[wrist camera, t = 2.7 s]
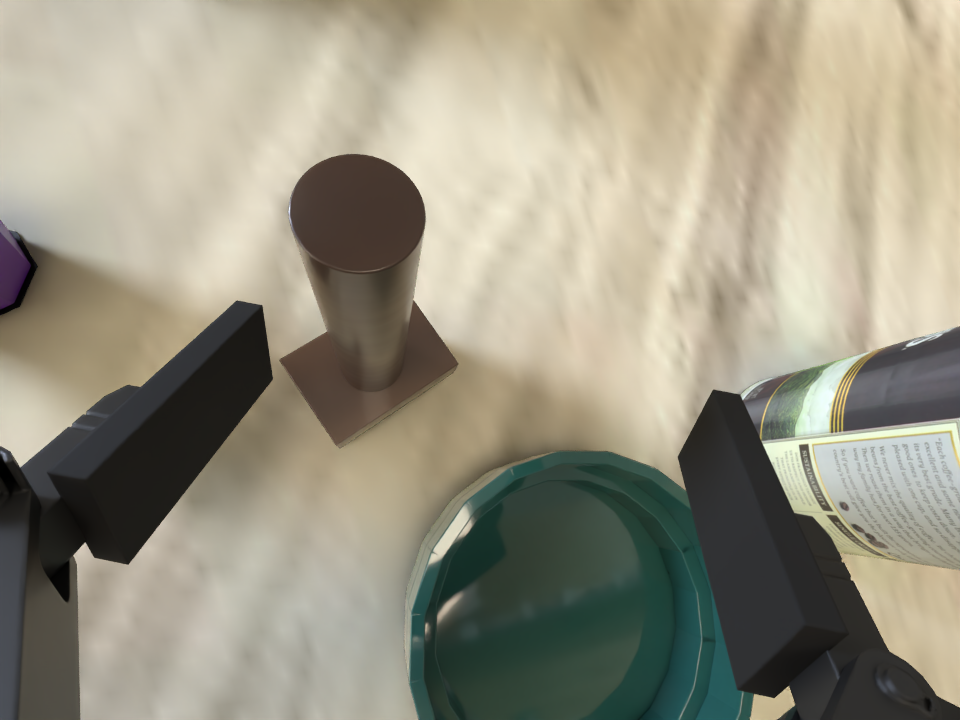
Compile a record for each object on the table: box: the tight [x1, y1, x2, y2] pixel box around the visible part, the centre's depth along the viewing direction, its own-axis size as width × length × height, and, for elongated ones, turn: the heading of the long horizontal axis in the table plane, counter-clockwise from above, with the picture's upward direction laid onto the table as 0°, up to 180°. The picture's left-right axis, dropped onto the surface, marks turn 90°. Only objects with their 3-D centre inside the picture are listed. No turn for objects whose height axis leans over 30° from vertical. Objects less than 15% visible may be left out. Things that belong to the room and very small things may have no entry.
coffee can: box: [741, 327, 960, 570], centre depth 24 cm, size 10×10×14 cm
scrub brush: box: [280, 154, 458, 448], centre depth 19 cm, size 5×7×17 cm
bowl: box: [404, 451, 754, 720], centre depth 23 cm, size 15×15×5 cm
